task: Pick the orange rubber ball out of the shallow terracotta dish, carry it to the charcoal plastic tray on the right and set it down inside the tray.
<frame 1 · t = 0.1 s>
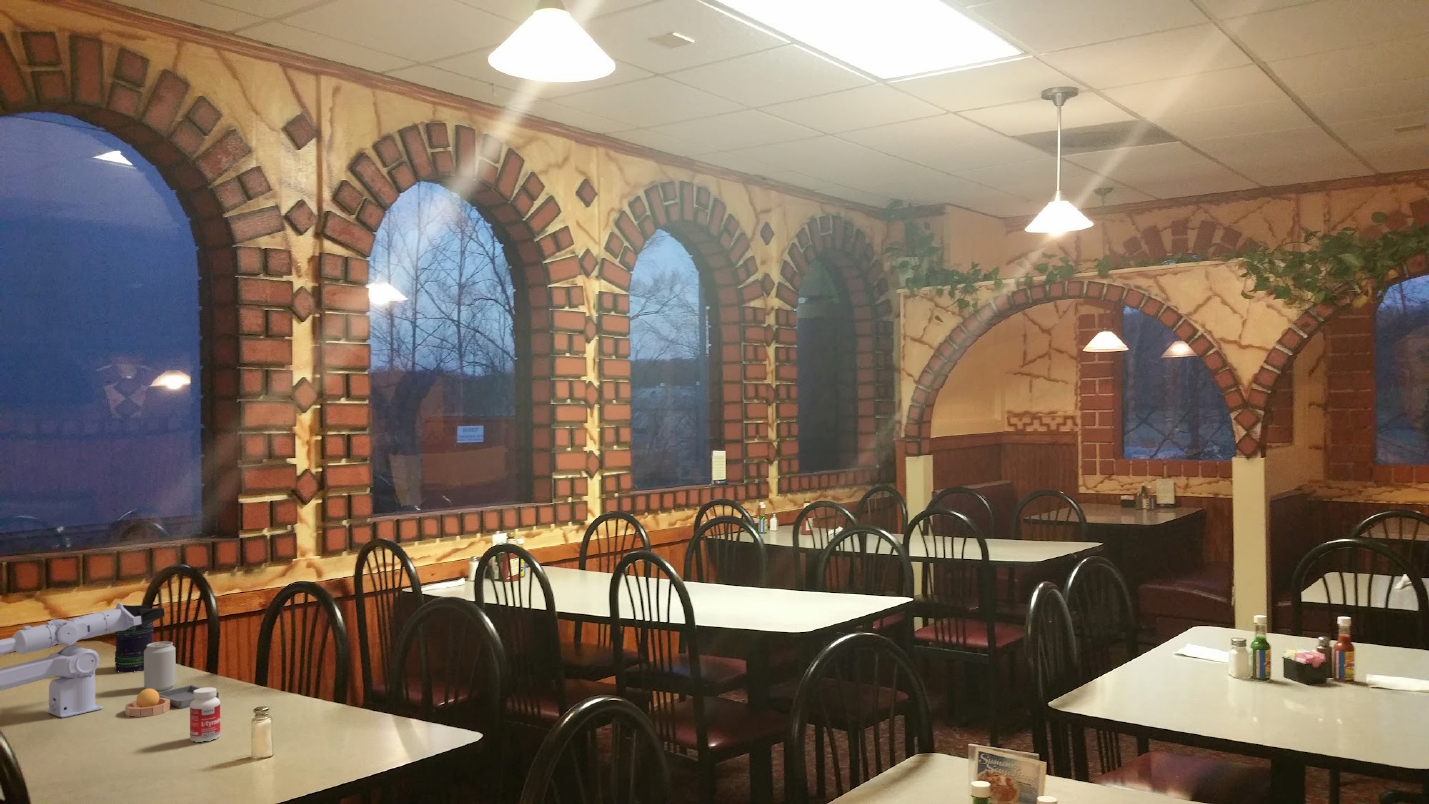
hand: (156, 610, 280), 22 cm above the table, tool horizontal, fingers open, 7 cm apart
can: (160, 689, 285), on the table
tray: (186, 700, 273), on the table
ball: (147, 699, 263), point 3 cm above the table, touching dish
dish: (148, 711, 263), on the table
storage jar: (134, 669, 306), on the table
pill bottle: (205, 739, 241), on the table
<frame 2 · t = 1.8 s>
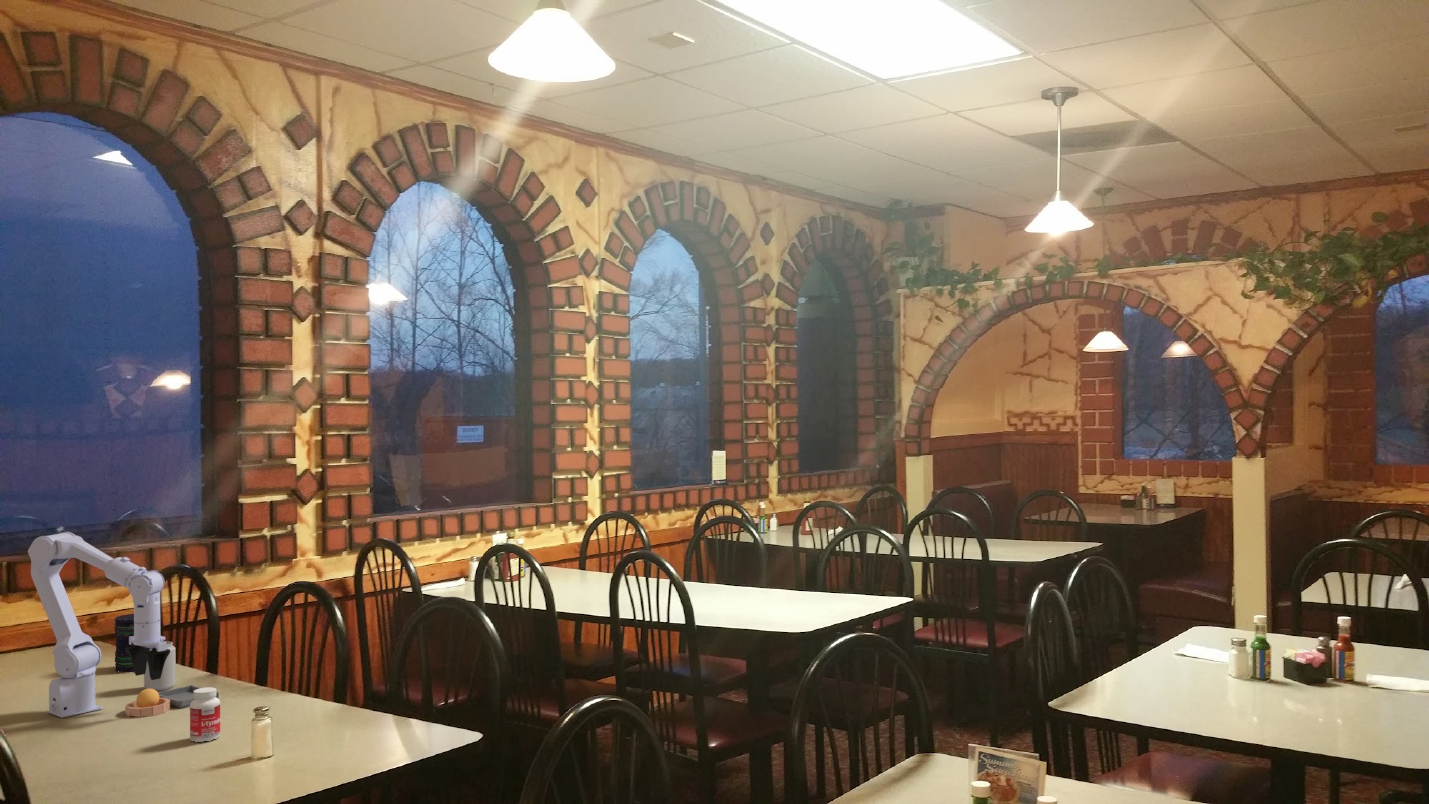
hand: (147, 676, 263), 8 cm above the table, tool pointing down, fingers open, 7 cm apart
nothing on the table moved.
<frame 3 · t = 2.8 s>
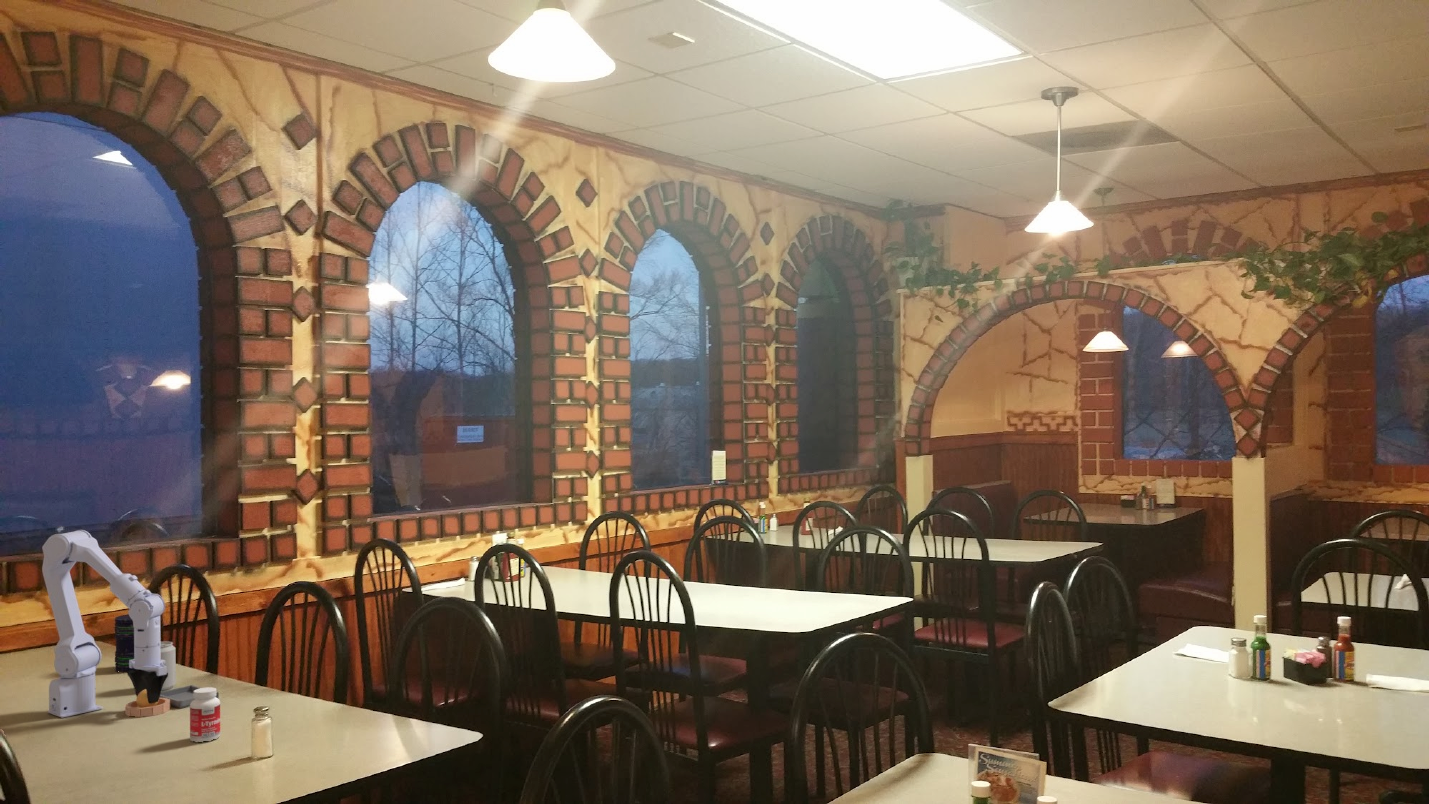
hand: (147, 700, 263), 3 cm above the table, tool pointing down, fingers closed on ball, 5 cm apart
ball: (147, 699, 263), point 3 cm above the table, touching dish, gripper
everything else where it was.
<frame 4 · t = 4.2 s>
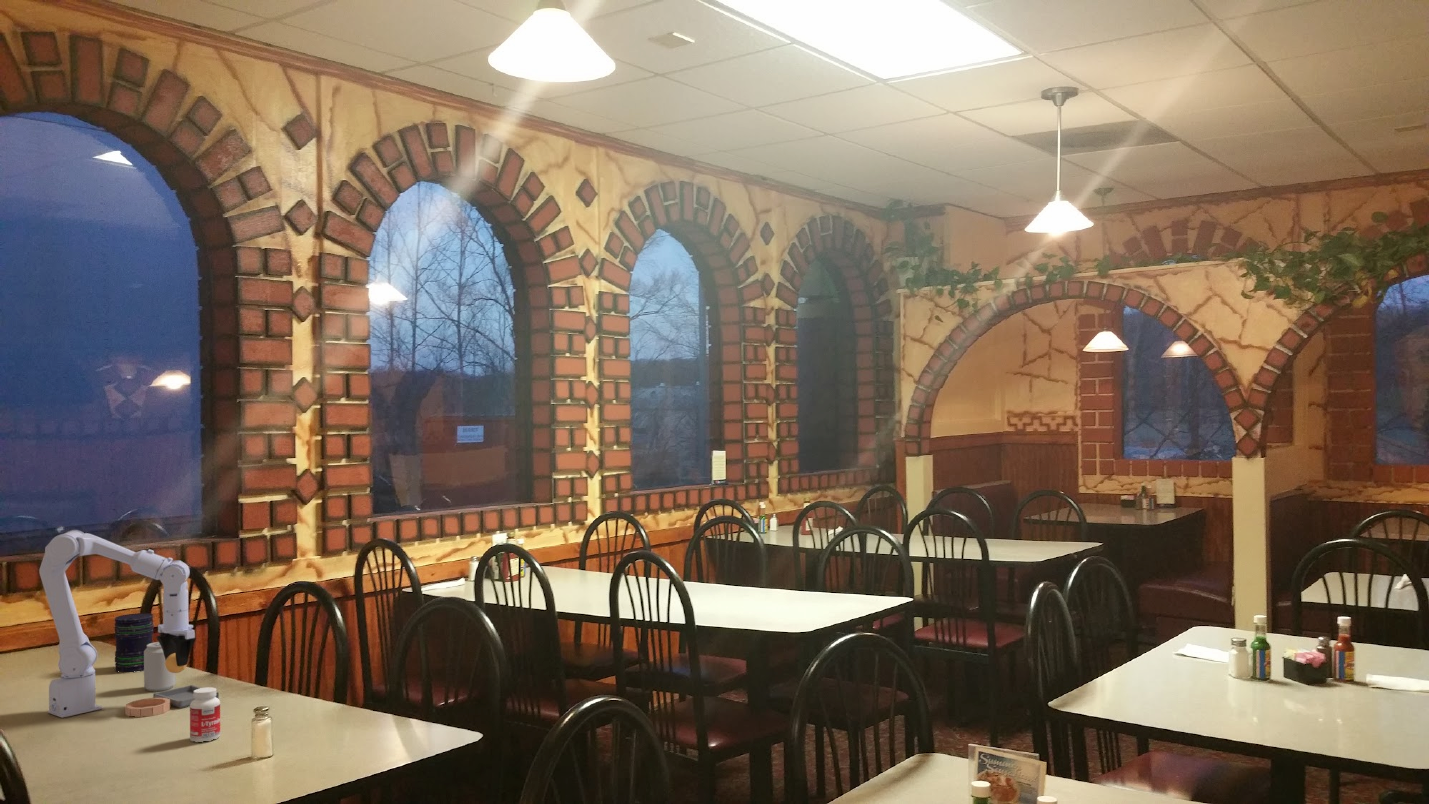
hand: (176, 664, 271), 10 cm above the table, tool pointing down, fingers closed on ball, 5 cm apart
ball: (176, 662, 270), point 10 cm above the table, touching gripper
everything else where it was.
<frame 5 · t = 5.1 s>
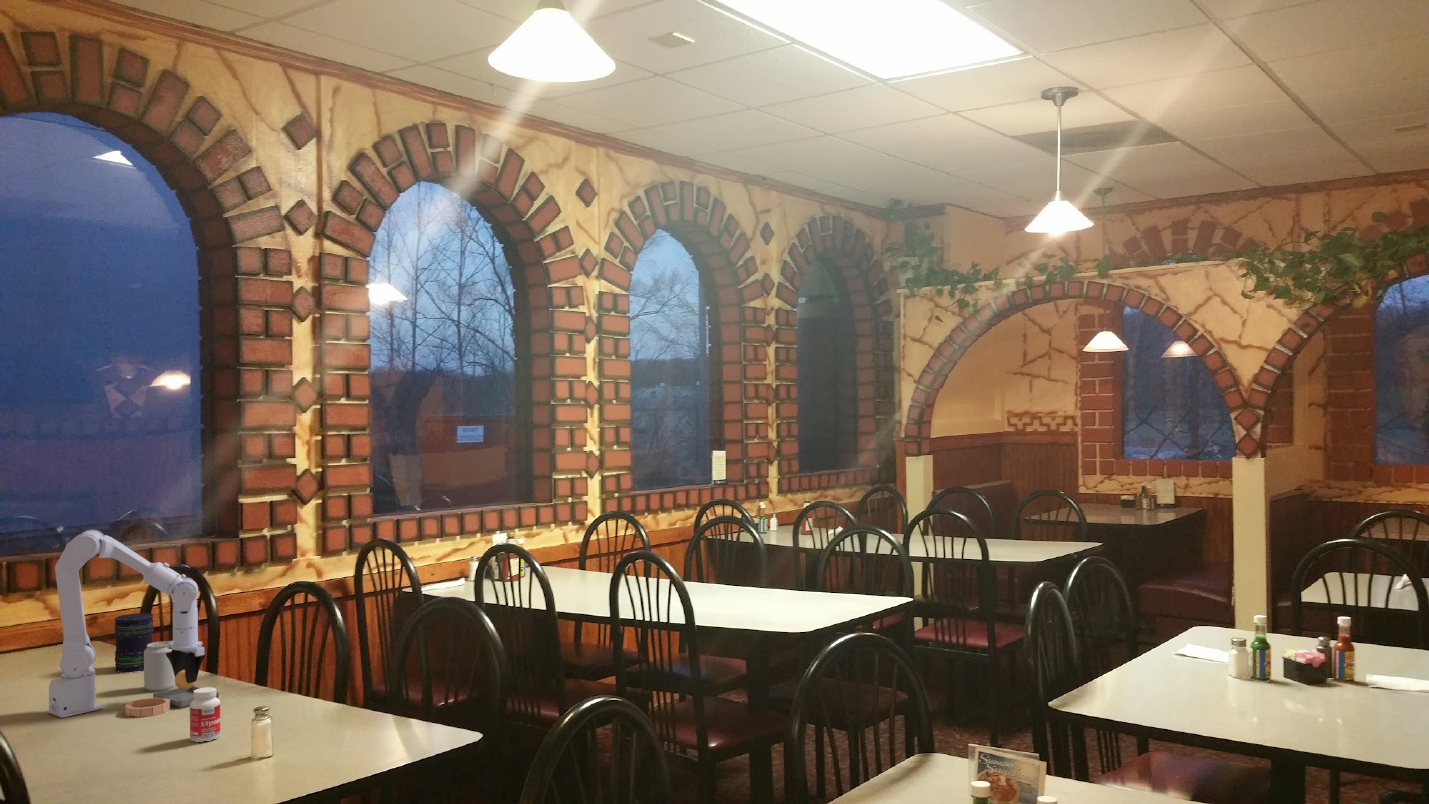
hand: (185, 680, 273), 5 cm above the table, tool pointing down, fingers closed on ball, 5 cm apart
ball: (185, 679, 273), point 5 cm above the table, touching gripper
everything else where it was.
when the fingers open (4 cm above the table, at t = 5.7 s): ball drops 1 cm, resting on tray.
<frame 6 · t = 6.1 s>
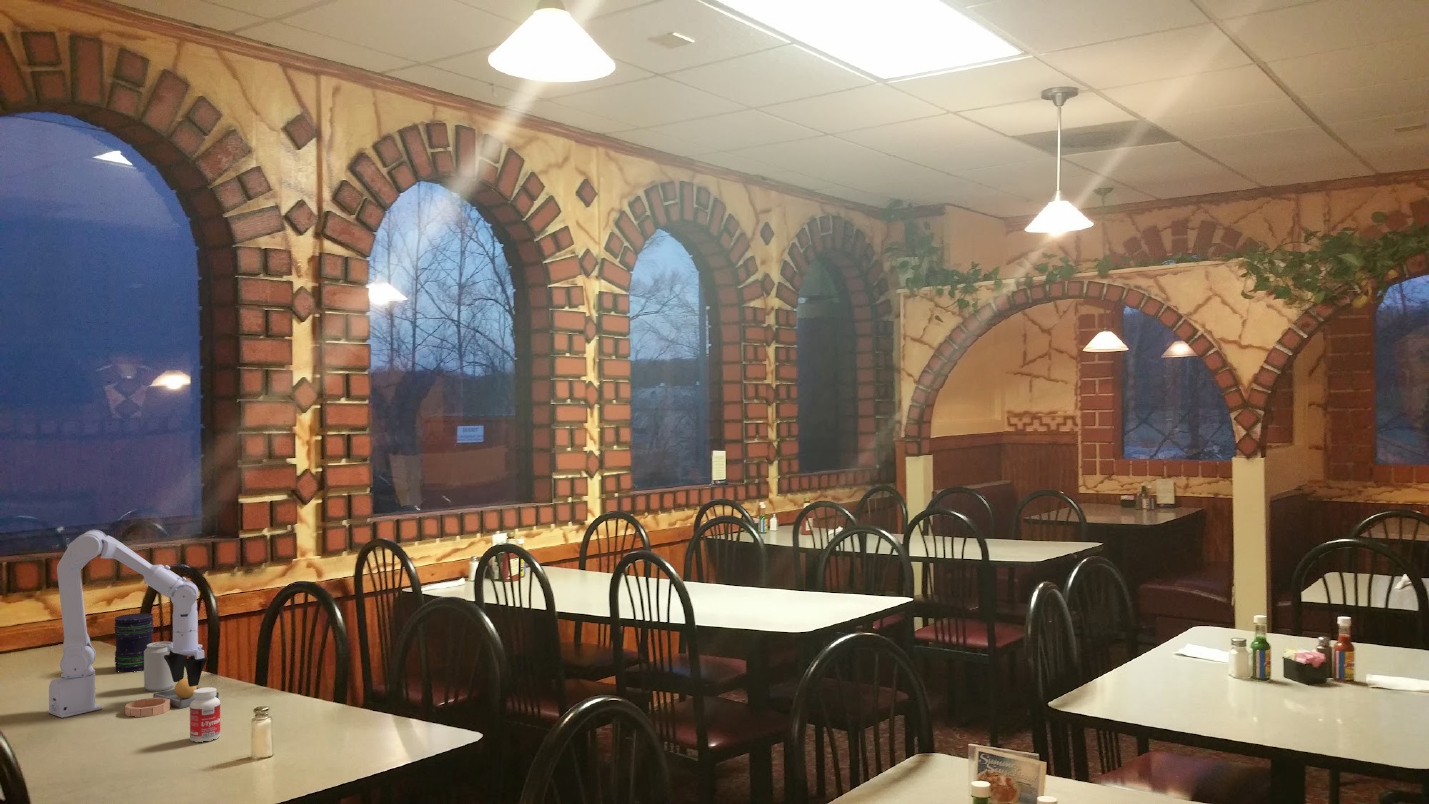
hand: (185, 683, 273), 4 cm above the table, tool pointing down, fingers open, 7 cm apart
ball: (185, 688, 273), point 3 cm above the table, touching tray
everything else where it was.
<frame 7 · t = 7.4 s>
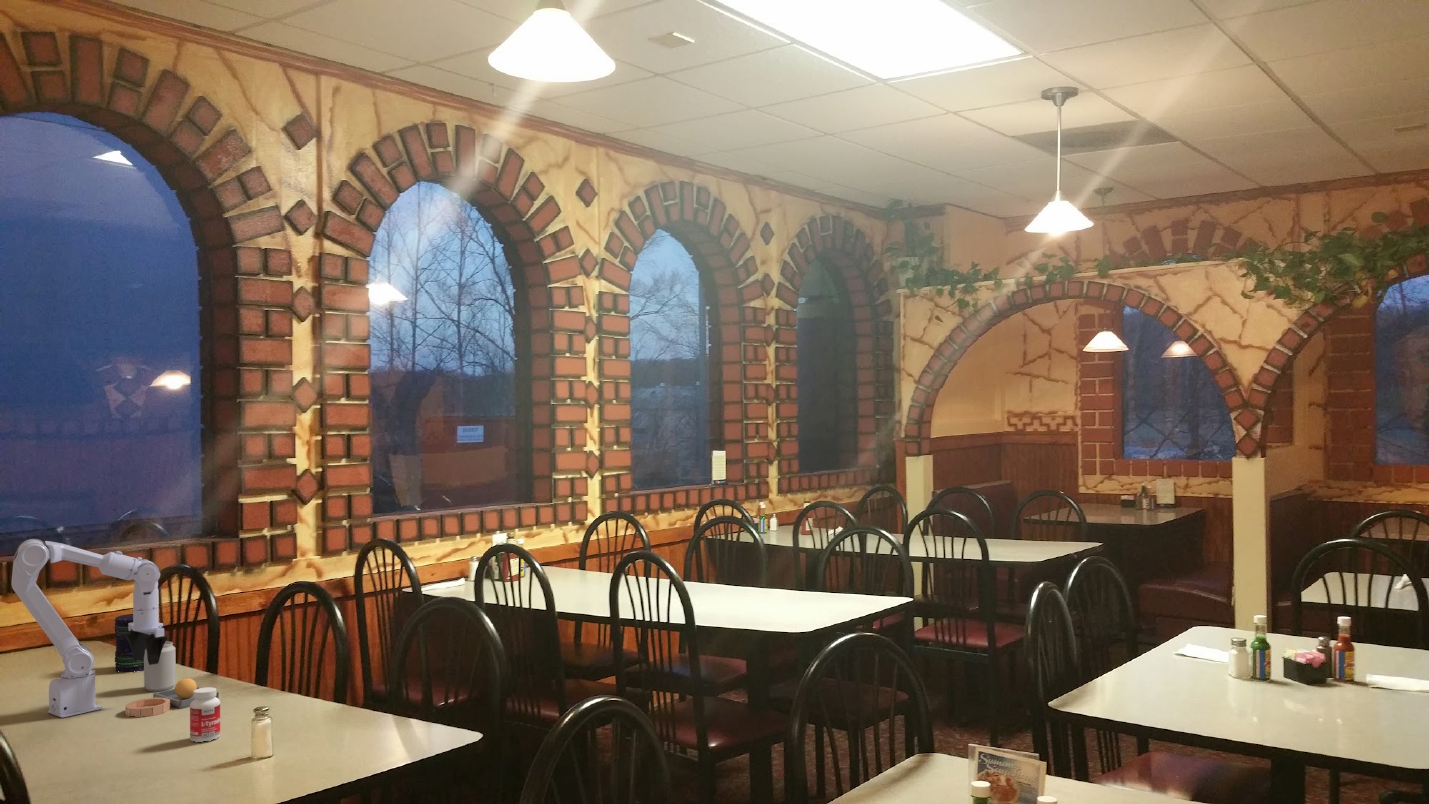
hand: (146, 662, 273), 10 cm above the table, tool pointing down, fingers open, 7 cm apart
nothing on the table moved.
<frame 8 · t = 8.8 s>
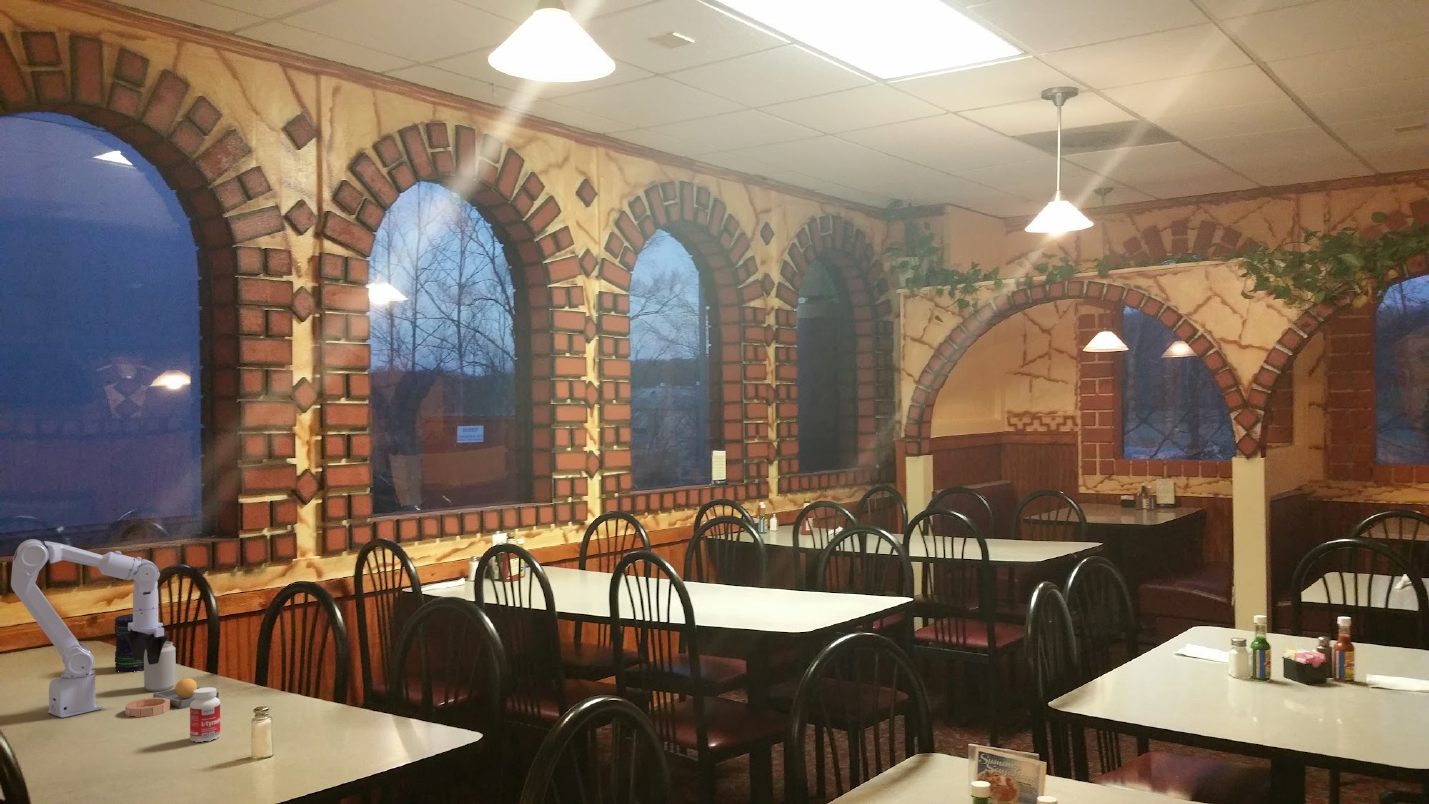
hand: (146, 661, 273), 10 cm above the table, tool pointing down, fingers open, 7 cm apart
nothing on the table moved.
at the end: ball inside the target area on the tray (0.2 cm from its centre), point 3.0 cm above the tray's base; ball moved 10.7 cm from its start; the gripper is holding nothing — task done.
